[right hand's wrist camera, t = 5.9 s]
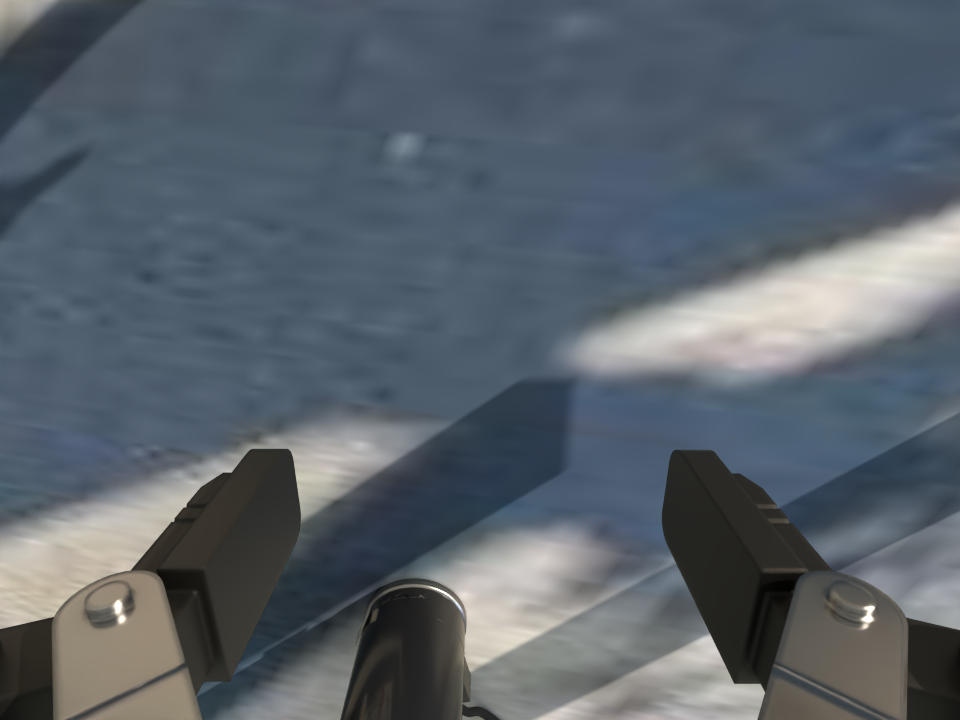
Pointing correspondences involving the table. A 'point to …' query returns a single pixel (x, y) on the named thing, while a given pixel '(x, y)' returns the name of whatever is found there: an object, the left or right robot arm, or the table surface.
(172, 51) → the table surface
